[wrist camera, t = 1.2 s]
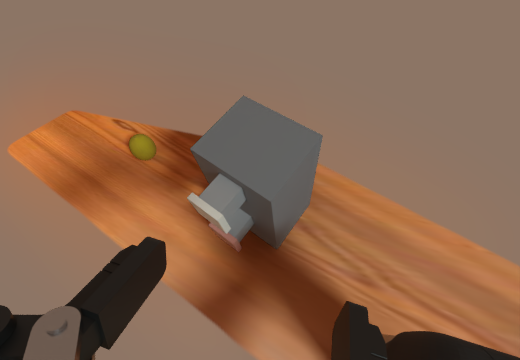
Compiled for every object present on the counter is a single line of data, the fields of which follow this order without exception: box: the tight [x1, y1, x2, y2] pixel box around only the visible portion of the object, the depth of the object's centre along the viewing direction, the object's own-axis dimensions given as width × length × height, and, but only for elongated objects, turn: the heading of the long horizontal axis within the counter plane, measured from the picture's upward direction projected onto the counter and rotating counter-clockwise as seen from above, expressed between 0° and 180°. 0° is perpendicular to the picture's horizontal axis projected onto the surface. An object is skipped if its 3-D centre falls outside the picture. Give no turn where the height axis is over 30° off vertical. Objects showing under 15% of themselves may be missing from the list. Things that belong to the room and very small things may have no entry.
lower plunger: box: [209, 208, 254, 252], centre depth 48 cm, size 9×6×6 cm, turn 143°
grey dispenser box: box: [190, 96, 323, 249], centre depth 47 cm, size 12×14×24 cm
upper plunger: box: [187, 173, 246, 234], centre depth 38 cm, size 9×6×6 cm, turn 143°
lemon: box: [129, 134, 156, 160], centre depth 64 cm, size 6×6×8 cm
